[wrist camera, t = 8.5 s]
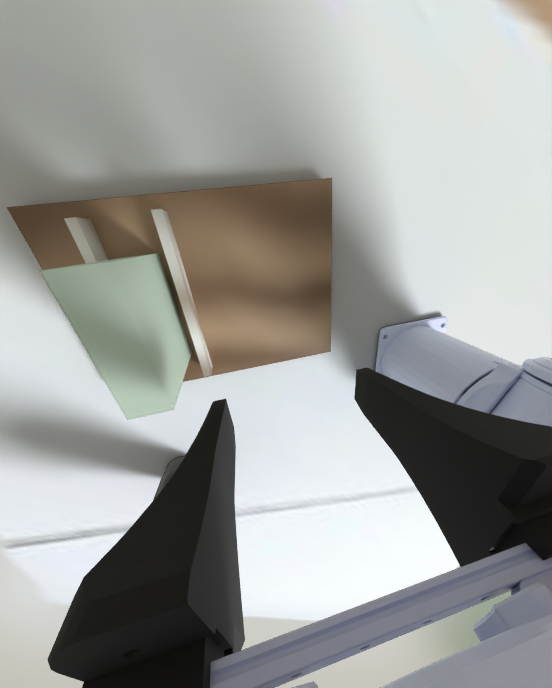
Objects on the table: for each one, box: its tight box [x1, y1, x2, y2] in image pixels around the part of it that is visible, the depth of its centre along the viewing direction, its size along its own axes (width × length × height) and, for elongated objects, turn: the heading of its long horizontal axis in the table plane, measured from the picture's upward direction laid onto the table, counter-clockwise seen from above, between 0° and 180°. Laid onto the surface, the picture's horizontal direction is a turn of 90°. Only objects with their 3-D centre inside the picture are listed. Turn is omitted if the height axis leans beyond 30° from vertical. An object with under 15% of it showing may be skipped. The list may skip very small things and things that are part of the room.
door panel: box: [40, 253, 192, 420], centre depth 13 cm, size 8×2×7 cm, turn 6°
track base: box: [7, 178, 332, 382], centre depth 17 cm, size 14×20×3 cm
